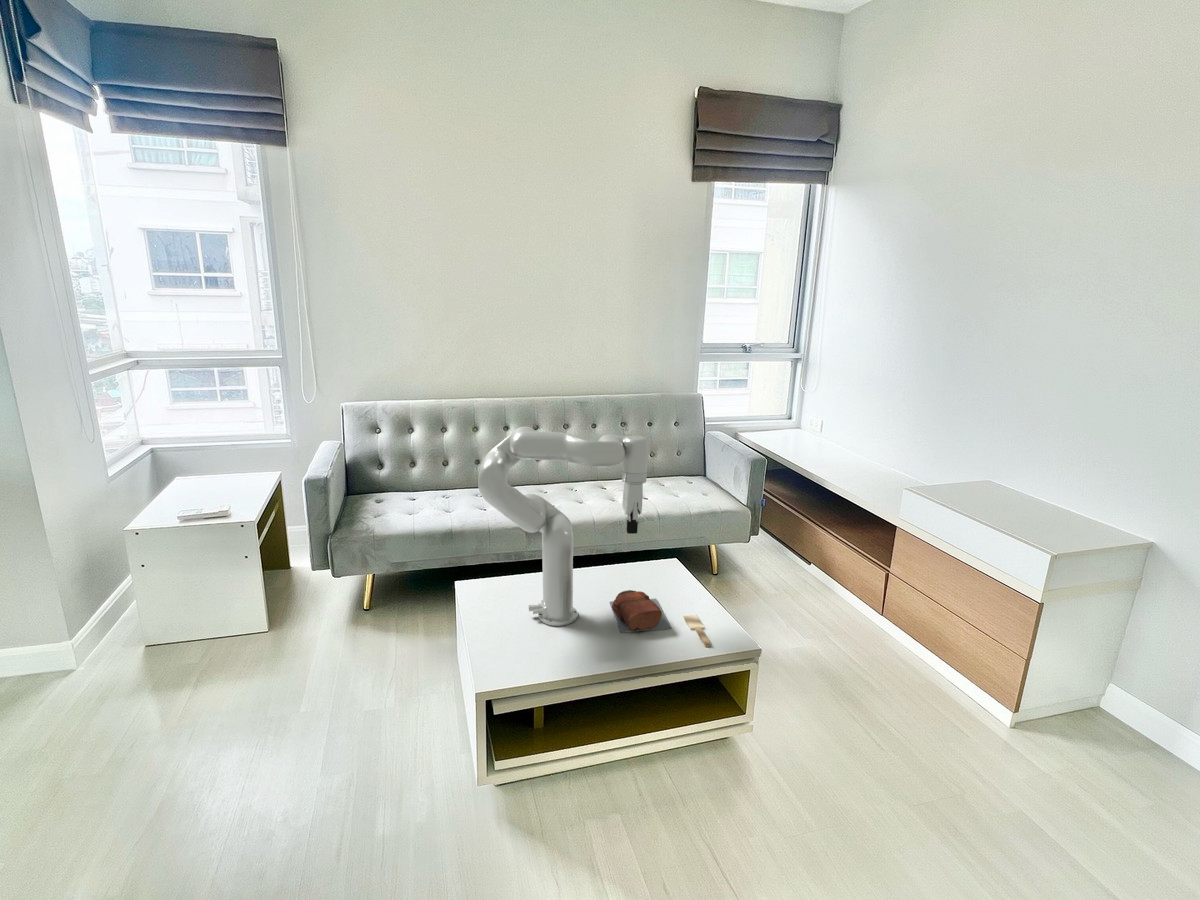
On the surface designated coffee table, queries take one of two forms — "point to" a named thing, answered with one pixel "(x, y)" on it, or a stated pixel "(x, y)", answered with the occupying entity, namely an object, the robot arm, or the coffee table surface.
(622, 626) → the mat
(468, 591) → the coffee table surface
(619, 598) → the wooden figurine
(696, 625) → the turner
